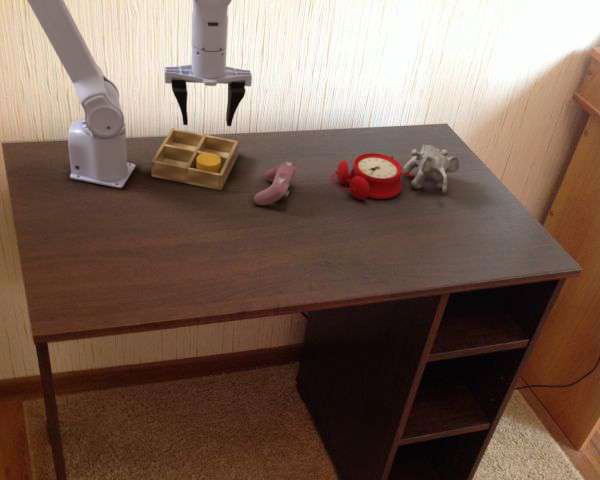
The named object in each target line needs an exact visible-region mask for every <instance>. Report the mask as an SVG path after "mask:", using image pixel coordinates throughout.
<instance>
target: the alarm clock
mask: <svg viewBox="0 0 600 480" xmlns="http://www.w3.org/2000/svg"><path fill="white" fill-rule="evenodd" d="M335 176H337V180H338V182H339V183H340V184H341V185H346V184H348V187H342V186H341V185H338V184H337V183H336V182H335V181H334V179H333V177H335ZM402 176H403V177H411V178H413V177H414V174H408V175H407V174H403V167H402V165H401V164H400V162H399V161H397V160H396V159H395V158H394V155H391V156H388V155H386V154H381V153H377V152H369V153H363V154H360V155H358V156H357V157H355V159H354V161H353V163H352V169H351V171H350V172H349V164H348V161H347V160H341V161H340V162H339V164H338V165H337V170H335V171H334V174H332V175H331V176H330V181H331V182H332V184H333V185H334V186H336V187H337V188H338V189H341V190H345V191H347V190H349V192H350V194H351V196H352V197H354V198H355V199H356V200H359V201H362V200H365V199H367V198H370V199H376V200H386V199H392V198H394V197H396V196H398V195H399V194H400V193H401V191H402V188H403V184H402V180H401V178H402Z"/></svg>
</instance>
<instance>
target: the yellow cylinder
mask: <svg viewBox="0 0 600 480" xmlns="http://www.w3.org/2000/svg"><path fill="white" fill-rule="evenodd" d="M196 169H199V170H204V171H209V172H214V173H219V174H220V171H221V159H220V157H219V156H217V155H215V154H212V153H202V154H200V155H198V156H197V158H196Z"/></svg>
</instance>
